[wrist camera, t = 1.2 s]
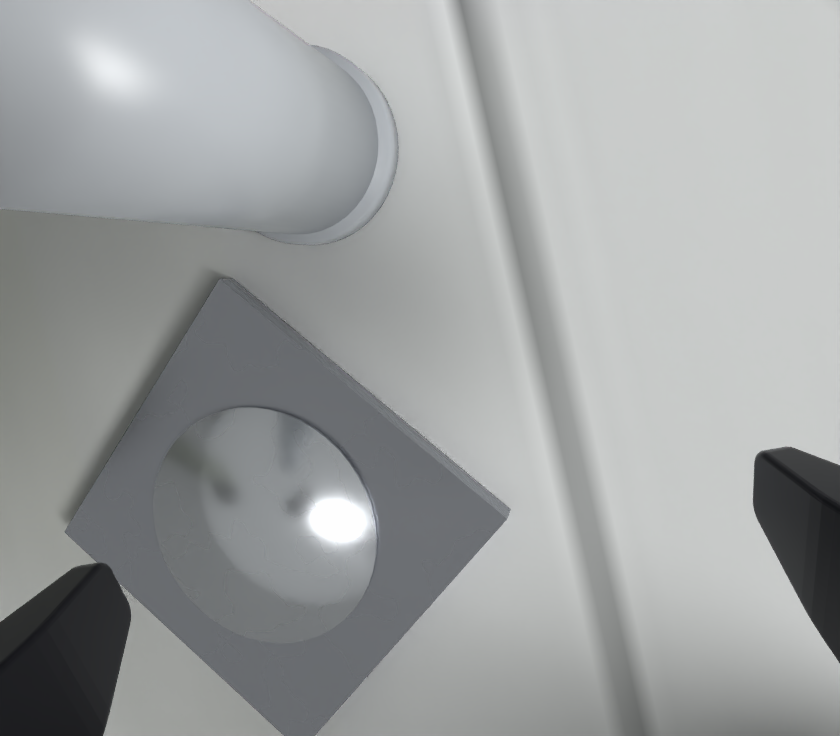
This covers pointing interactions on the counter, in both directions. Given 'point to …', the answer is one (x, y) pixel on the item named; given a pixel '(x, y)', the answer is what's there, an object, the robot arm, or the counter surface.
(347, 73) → the grey cylinder
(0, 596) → the counter surface
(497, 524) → the flange plate
